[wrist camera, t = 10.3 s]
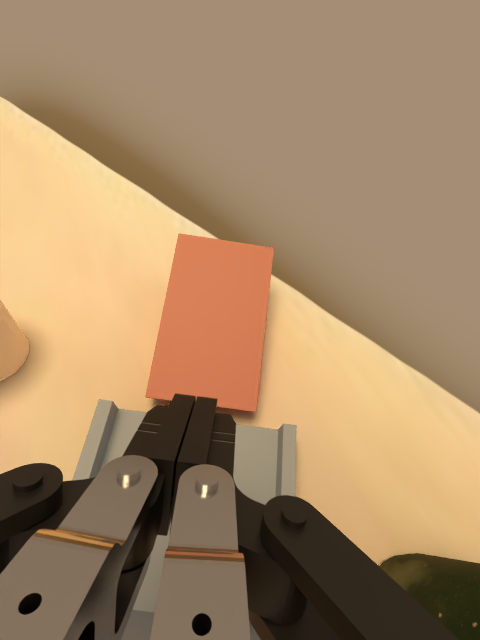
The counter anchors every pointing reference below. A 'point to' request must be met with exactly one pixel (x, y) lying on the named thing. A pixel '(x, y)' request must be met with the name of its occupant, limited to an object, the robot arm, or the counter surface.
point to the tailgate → (213, 323)
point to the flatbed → (249, 476)
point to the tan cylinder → (11, 344)
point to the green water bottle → (441, 589)
